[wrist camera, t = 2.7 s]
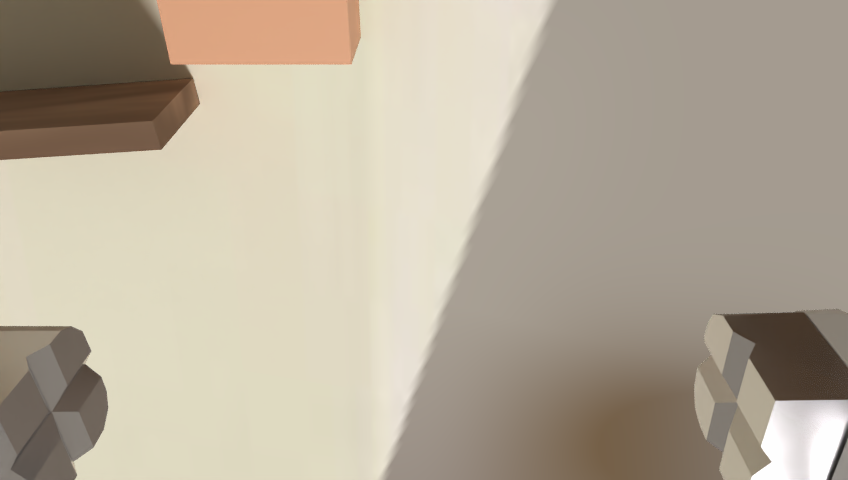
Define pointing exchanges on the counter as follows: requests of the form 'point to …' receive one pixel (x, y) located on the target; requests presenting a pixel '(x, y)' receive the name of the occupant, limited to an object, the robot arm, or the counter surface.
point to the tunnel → (93, 118)
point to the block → (260, 31)
